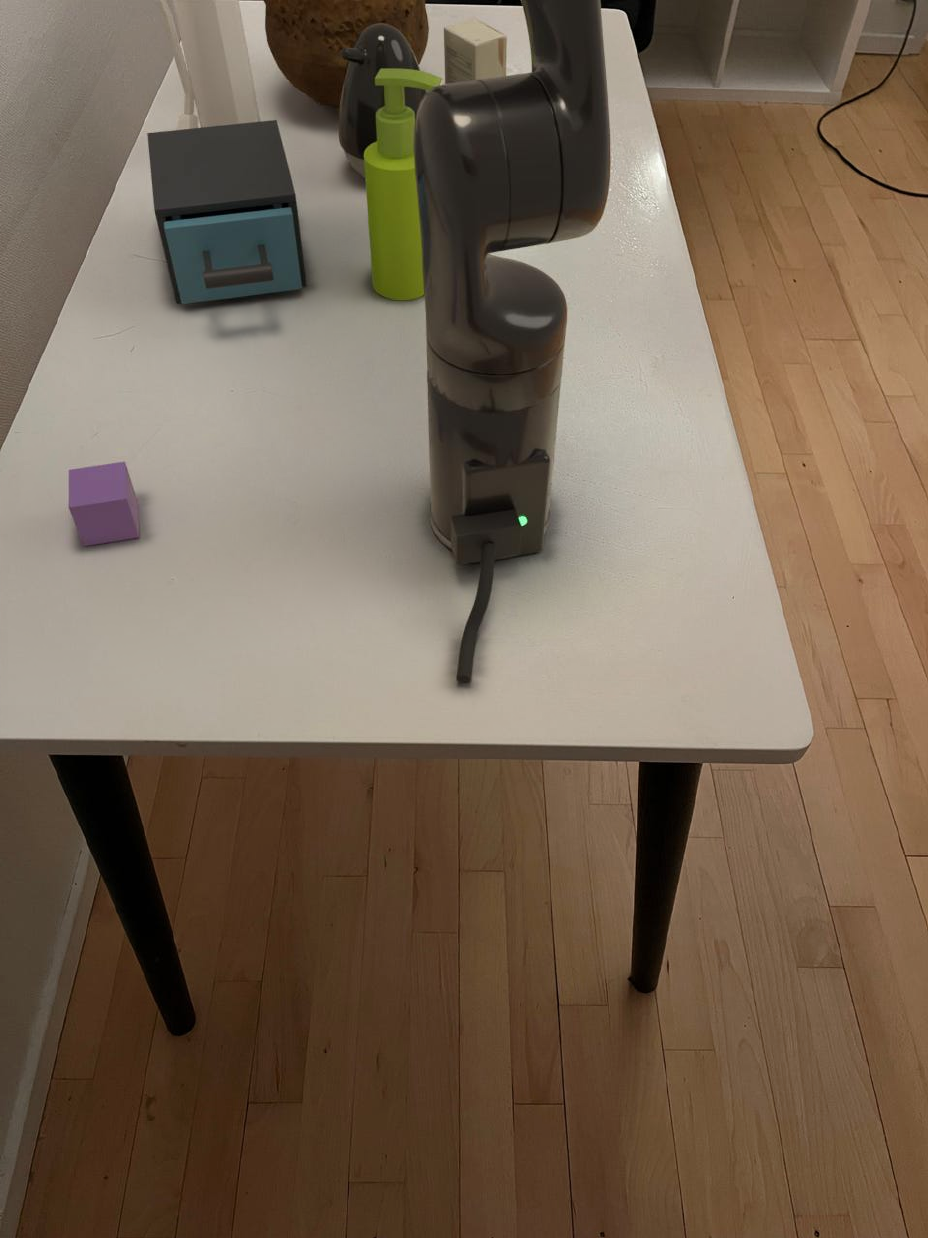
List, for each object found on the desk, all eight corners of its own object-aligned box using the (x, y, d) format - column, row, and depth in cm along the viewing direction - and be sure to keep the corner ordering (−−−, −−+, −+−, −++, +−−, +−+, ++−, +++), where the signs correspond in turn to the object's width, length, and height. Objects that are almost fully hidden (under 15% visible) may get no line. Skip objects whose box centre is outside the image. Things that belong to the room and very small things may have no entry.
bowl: (382, 53, 137) (375, -79, 125) (458, 111, 127) (458, -27, 115) (248, 87, 130) (228, -49, 119) (317, 151, 120) (302, 9, 109)
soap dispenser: (435, 305, 101) (432, 92, 86) (366, 296, 102) (349, 84, 87) (448, 271, 105) (447, 61, 90) (381, 263, 106) (368, 54, 90)
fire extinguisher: (171, 148, 120) (116, -108, 101) (277, 137, 122) (243, -117, 103) (174, 177, 116) (118, -84, 97) (284, 165, 118) (250, -93, 99)
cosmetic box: (506, 149, 121) (510, 36, 111) (475, 160, 119) (476, 45, 110) (474, 127, 124) (475, 15, 115) (443, 137, 122) (442, 24, 113)
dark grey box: (307, 286, 103) (295, 193, 96) (176, 303, 101) (154, 209, 94) (288, 209, 112) (276, 119, 105) (167, 223, 110) (147, 132, 103)
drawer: (309, 318, 98) (299, 242, 92) (185, 335, 97) (167, 258, 91) (284, 216, 110) (274, 142, 104) (173, 229, 108) (156, 154, 102)
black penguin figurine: (321, 172, 117) (306, 25, 105) (388, 139, 122) (381, -5, 110) (385, 205, 113) (377, 56, 101) (452, 169, 118) (452, 23, 106)
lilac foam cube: (139, 537, 82) (126, 498, 78) (83, 546, 81) (68, 507, 78) (137, 500, 84) (124, 461, 81) (83, 508, 84) (68, 469, 80)
